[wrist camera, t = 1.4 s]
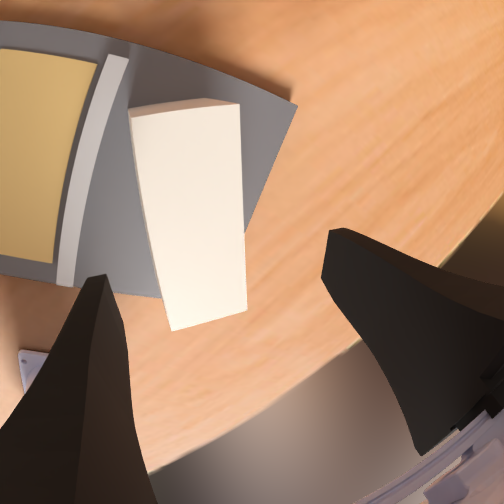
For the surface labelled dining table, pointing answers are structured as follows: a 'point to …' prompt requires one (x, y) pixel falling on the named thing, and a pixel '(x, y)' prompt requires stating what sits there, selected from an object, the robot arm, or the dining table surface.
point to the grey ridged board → (100, 150)
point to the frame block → (192, 205)
